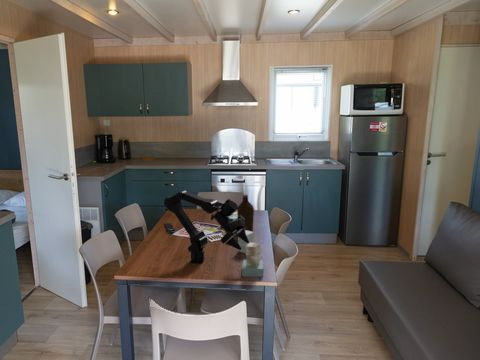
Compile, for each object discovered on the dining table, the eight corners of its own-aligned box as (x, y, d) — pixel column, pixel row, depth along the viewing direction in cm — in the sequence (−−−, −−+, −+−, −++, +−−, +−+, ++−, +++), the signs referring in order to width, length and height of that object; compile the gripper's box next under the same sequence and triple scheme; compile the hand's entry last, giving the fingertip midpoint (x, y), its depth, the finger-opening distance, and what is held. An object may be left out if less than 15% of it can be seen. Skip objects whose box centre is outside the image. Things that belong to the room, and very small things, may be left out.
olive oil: (244, 236, 216) (244, 198, 211) (234, 232, 224) (233, 195, 219) (257, 232, 222) (257, 195, 218) (246, 228, 231) (246, 192, 226)
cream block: (246, 265, 165) (246, 245, 163) (250, 261, 170) (250, 242, 168) (255, 267, 163) (255, 247, 161) (259, 263, 168) (259, 243, 166)
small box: (246, 247, 198) (246, 229, 196) (254, 249, 195) (254, 231, 193) (237, 251, 192) (237, 233, 190) (245, 253, 189) (245, 235, 187)
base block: (242, 276, 163) (242, 268, 162) (243, 267, 173) (243, 259, 172) (263, 276, 162) (263, 268, 161) (263, 267, 172) (263, 260, 171)
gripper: (226, 217, 157) (248, 243, 155) (242, 207, 174) (262, 230, 172) (211, 231, 162) (232, 256, 160) (228, 219, 179) (248, 243, 176)
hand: (244, 246), depth 167 cm, fingers open, 9 cm apart
